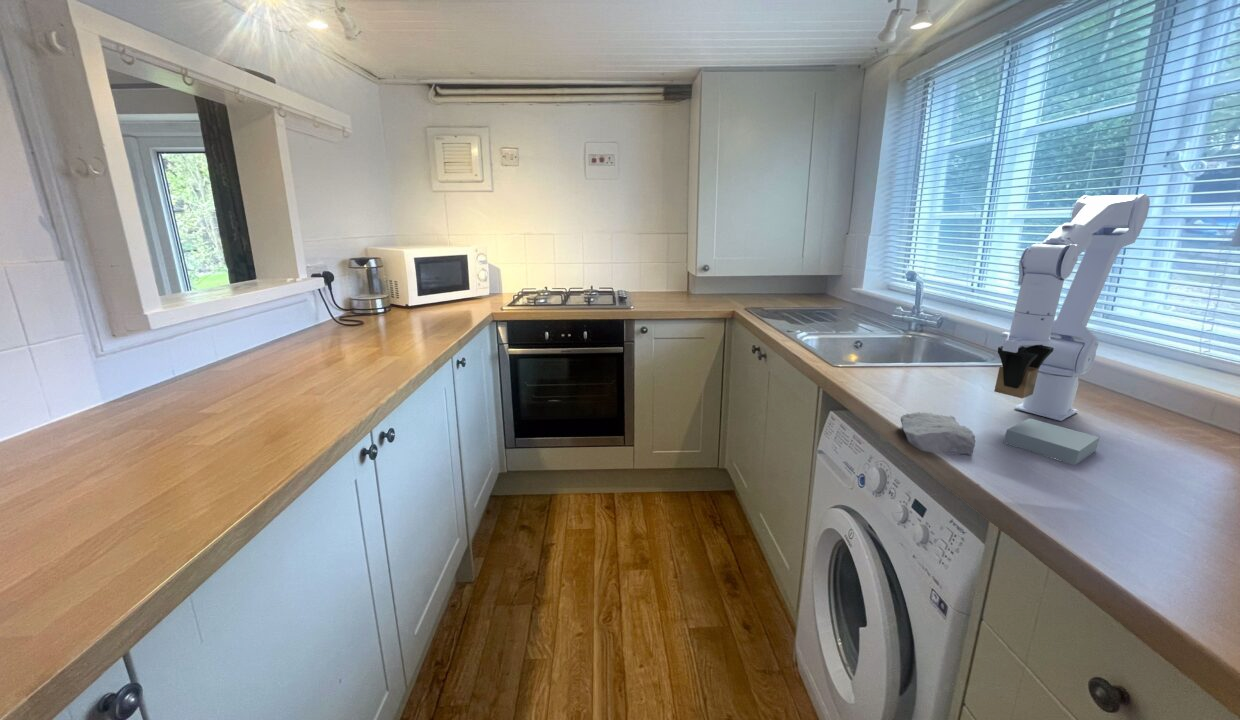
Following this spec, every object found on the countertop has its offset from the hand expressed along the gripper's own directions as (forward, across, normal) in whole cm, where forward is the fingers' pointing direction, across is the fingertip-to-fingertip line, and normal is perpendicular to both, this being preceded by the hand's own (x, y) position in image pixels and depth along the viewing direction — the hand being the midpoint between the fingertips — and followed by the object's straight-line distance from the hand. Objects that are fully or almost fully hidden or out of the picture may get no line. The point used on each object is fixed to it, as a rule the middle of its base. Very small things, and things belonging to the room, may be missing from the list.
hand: (1017, 384), depth 93 cm
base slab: (+9, +3, +8) cm, 12 cm away
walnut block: (+2, 0, 0) cm, 2 cm away
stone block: (+9, +18, -5) cm, 21 cm away
